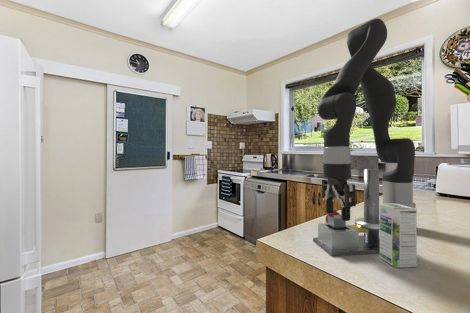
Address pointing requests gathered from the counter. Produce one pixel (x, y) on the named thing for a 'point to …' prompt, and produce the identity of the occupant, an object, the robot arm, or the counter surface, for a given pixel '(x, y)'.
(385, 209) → the syrup box
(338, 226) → the grey rectangular block
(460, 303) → the counter surface
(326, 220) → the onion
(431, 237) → the counter surface
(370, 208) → the bracket stand
